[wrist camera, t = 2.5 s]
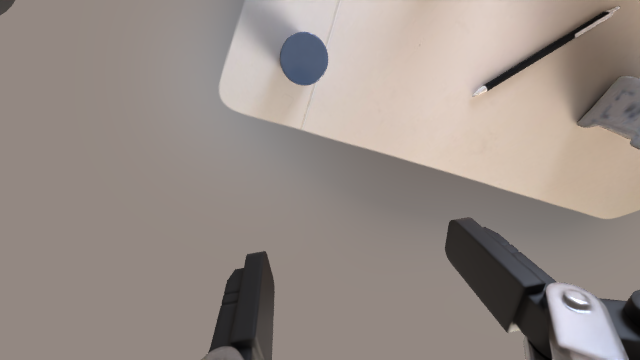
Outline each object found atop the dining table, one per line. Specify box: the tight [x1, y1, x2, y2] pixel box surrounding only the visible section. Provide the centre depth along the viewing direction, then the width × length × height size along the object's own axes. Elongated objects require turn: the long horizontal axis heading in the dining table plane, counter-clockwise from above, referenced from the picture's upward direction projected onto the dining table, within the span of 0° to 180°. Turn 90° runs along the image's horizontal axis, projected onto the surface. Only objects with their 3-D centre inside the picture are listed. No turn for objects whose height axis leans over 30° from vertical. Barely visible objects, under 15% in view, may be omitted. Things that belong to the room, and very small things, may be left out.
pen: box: [473, 6, 620, 96], centre depth 32 cm, size 1×19×1 cm, turn 121°
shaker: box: [280, 32, 328, 85], centre depth 25 cm, size 4×4×9 cm
